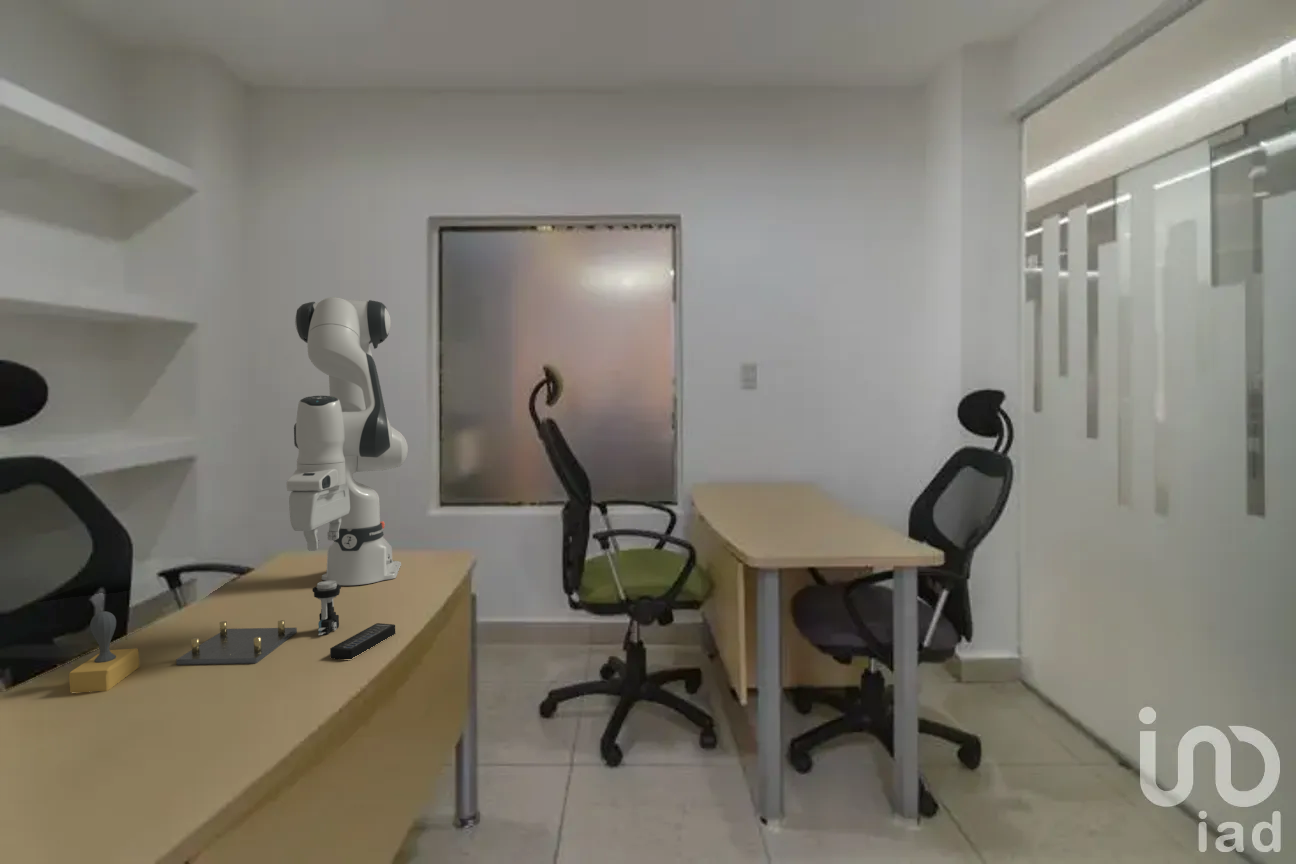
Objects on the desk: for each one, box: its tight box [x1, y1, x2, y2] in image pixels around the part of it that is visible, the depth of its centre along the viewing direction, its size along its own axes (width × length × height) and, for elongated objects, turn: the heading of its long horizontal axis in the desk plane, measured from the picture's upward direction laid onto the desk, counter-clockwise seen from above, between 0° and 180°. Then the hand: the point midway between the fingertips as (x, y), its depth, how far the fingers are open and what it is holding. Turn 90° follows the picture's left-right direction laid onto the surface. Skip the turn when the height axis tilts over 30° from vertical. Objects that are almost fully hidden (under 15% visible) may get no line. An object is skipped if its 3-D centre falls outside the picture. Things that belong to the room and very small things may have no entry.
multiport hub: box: [329, 622, 396, 660], centre depth 135 cm, size 4×14×2 cm, turn 167°
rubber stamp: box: [68, 610, 140, 694], centre depth 118 cm, size 10×6×12 cm, turn 11°
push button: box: [311, 580, 342, 636], centre depth 142 cm, size 7×5×10 cm
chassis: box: [175, 619, 298, 666], centre depth 133 cm, size 16×14×4 cm
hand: (323, 544), depth 141 cm, fingers open, 8 cm apart
